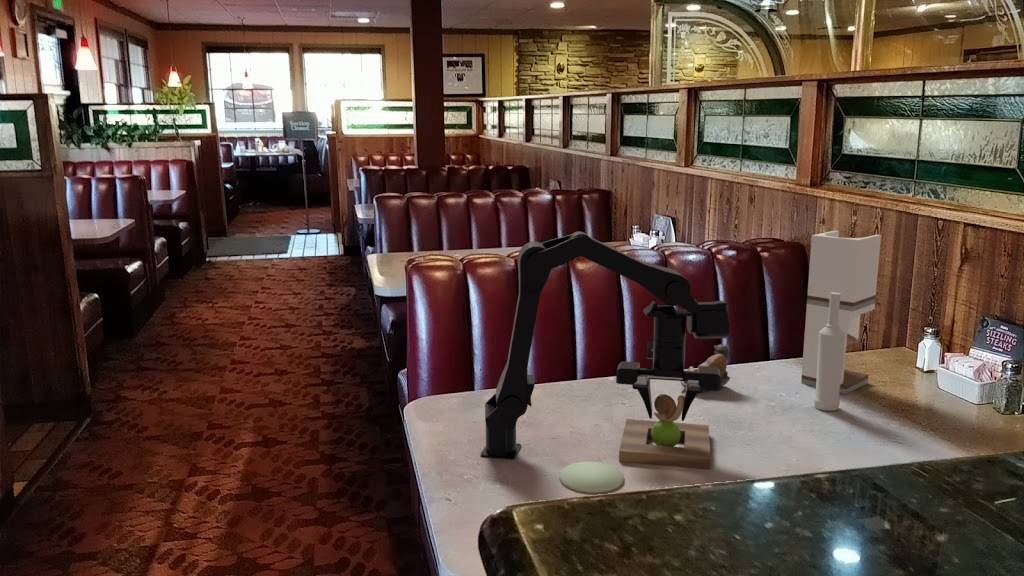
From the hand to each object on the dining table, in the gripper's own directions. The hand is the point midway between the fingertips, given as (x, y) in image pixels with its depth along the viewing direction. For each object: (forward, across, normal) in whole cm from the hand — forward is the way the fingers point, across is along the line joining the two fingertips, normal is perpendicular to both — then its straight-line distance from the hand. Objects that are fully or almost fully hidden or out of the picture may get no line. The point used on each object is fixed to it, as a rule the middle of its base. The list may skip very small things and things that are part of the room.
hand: (666, 419), depth 146 cm
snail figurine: (+6, 0, 0) cm, 6 cm away
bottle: (+6, -33, -29) cm, 44 cm away
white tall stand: (+6, -37, -46) cm, 60 cm away
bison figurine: (+6, -8, -36) cm, 37 cm away
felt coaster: (+6, +12, +16) cm, 21 cm away
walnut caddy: (+6, 0, 0) cm, 6 cm away
